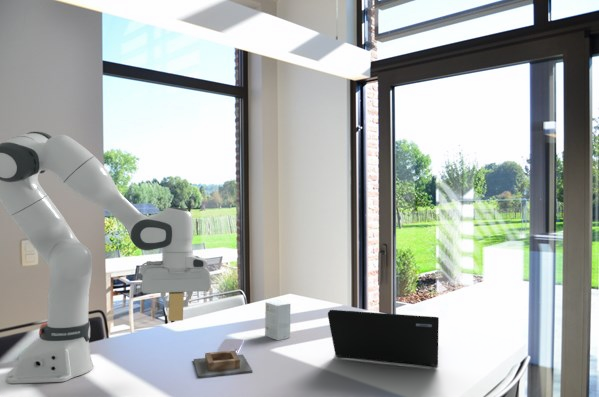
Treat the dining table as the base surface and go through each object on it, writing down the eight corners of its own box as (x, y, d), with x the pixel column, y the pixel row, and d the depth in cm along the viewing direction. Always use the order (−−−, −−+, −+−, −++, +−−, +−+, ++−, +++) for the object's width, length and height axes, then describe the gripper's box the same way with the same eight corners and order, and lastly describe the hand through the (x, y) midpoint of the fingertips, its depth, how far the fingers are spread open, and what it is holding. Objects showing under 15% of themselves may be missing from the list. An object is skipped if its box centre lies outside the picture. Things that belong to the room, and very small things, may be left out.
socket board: (198, 378, 133) (198, 367, 133) (193, 360, 147) (193, 351, 147) (252, 372, 138) (252, 362, 138) (242, 356, 152) (242, 346, 152)
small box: (290, 337, 174) (291, 303, 174) (277, 340, 170) (277, 305, 170) (277, 333, 180) (278, 299, 180) (264, 335, 176) (265, 301, 176)
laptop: (437, 346, 167) (437, 293, 167) (438, 385, 131) (439, 317, 131) (347, 337, 176) (347, 287, 176) (325, 372, 140) (326, 308, 140)
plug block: (168, 321, 135) (169, 293, 136) (168, 317, 139) (169, 291, 139) (182, 320, 137) (183, 293, 137) (181, 317, 141) (182, 291, 141)
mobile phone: (244, 338, 170) (238, 352, 155) (244, 341, 170) (238, 354, 155) (224, 338, 170) (215, 351, 155) (224, 340, 170) (215, 354, 155)
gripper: (140, 262, 132) (139, 310, 132) (212, 261, 138) (211, 307, 138) (141, 260, 138) (139, 306, 138) (209, 259, 144) (208, 303, 144)
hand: (175, 306), depth 138 cm, fingers closed on plug block, 4 cm apart
